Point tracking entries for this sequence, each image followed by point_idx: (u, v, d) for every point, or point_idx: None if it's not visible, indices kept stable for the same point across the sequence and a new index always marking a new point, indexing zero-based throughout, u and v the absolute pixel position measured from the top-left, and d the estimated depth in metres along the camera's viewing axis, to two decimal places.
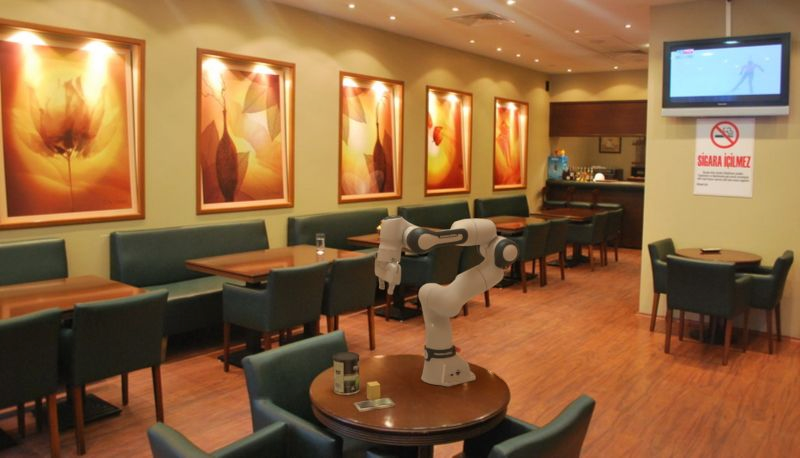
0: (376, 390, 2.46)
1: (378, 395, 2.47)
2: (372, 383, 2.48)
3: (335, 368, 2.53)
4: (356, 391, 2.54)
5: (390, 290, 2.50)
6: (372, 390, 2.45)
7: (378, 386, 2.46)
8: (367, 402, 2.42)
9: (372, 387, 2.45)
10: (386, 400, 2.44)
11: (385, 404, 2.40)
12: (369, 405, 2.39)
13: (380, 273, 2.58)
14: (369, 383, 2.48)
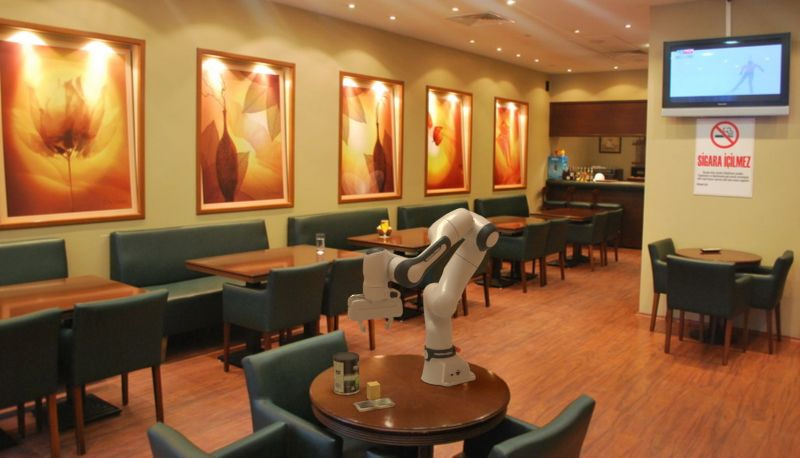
0: (376, 390, 2.46)
1: (378, 395, 2.47)
2: (372, 383, 2.48)
3: (335, 368, 2.53)
4: (356, 391, 2.54)
5: (360, 327, 2.35)
6: (372, 390, 2.45)
7: (378, 386, 2.46)
8: (367, 402, 2.42)
9: (372, 387, 2.45)
10: (386, 400, 2.44)
11: (385, 404, 2.40)
12: (369, 405, 2.39)
13: None
14: (369, 383, 2.48)
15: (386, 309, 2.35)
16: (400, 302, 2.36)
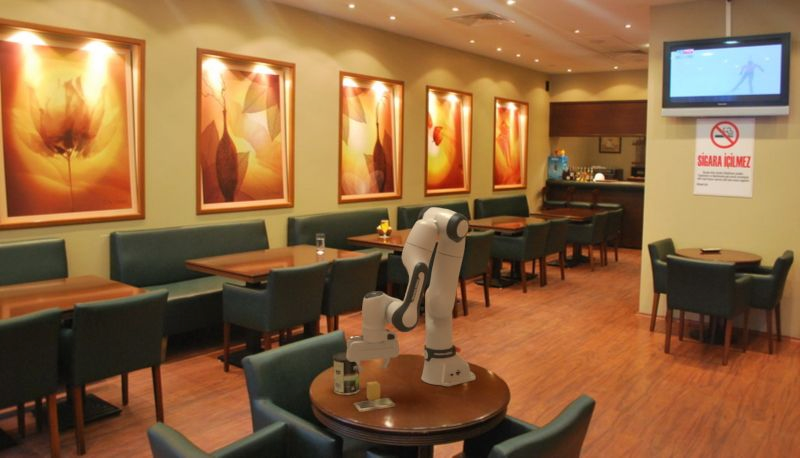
0: (376, 390, 2.46)
1: (378, 395, 2.47)
2: (372, 383, 2.48)
3: (335, 368, 2.53)
4: (356, 391, 2.54)
5: (358, 367, 2.45)
6: (372, 390, 2.45)
7: (378, 386, 2.46)
8: (367, 402, 2.42)
9: (372, 387, 2.45)
10: (386, 400, 2.44)
11: (385, 404, 2.40)
12: (369, 405, 2.39)
13: None
14: (369, 383, 2.48)
15: (383, 351, 2.45)
16: (397, 344, 2.46)
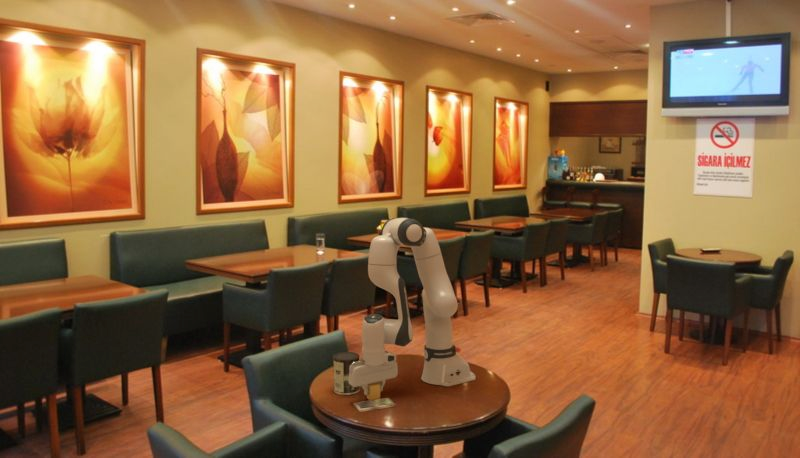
0: (376, 390, 2.46)
1: (378, 395, 2.47)
2: (372, 383, 2.48)
3: (335, 368, 2.53)
4: (356, 391, 2.54)
5: (364, 390, 2.46)
6: (372, 390, 2.45)
7: (378, 386, 2.46)
8: (367, 402, 2.42)
9: (372, 387, 2.45)
10: (386, 400, 2.44)
11: (385, 404, 2.40)
12: (369, 405, 2.39)
13: None
14: None
15: (383, 372, 2.48)
16: (396, 364, 2.50)
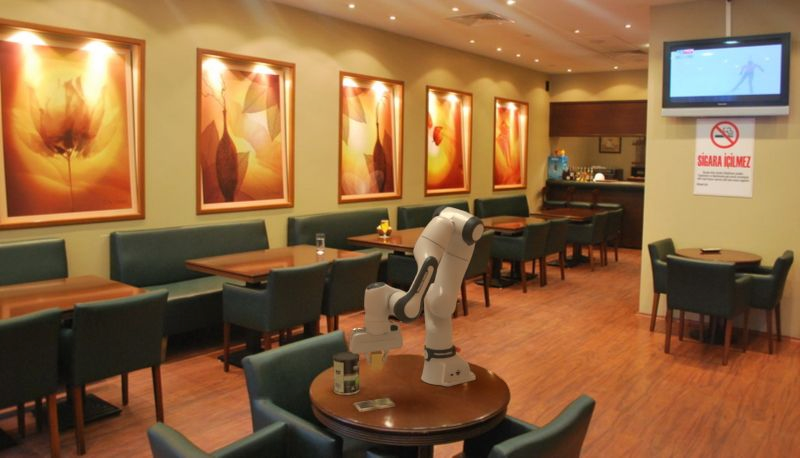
0: (378, 359, 2.43)
1: (380, 364, 2.43)
2: (375, 352, 2.44)
3: (335, 368, 2.53)
4: (356, 391, 2.54)
5: (366, 358, 2.43)
6: (373, 358, 2.42)
7: (380, 355, 2.42)
8: (367, 402, 2.42)
9: (374, 355, 2.42)
10: (386, 400, 2.44)
11: (385, 404, 2.40)
12: (369, 405, 2.39)
13: None
14: (372, 352, 2.45)
15: (386, 342, 2.43)
16: (400, 335, 2.44)
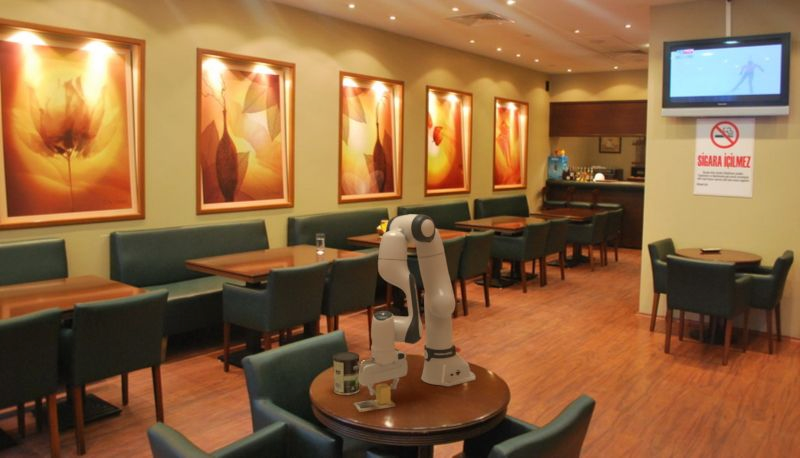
0: (387, 393, 2.41)
1: (388, 397, 2.41)
2: (382, 385, 2.42)
3: (335, 368, 2.53)
4: (356, 391, 2.54)
5: (370, 390, 2.39)
6: (382, 392, 2.40)
7: (388, 388, 2.41)
8: (367, 402, 2.42)
9: (383, 389, 2.40)
10: None
11: (385, 404, 2.40)
12: (369, 405, 2.39)
13: None
14: (379, 385, 2.42)
15: (393, 371, 2.42)
16: (406, 362, 2.44)
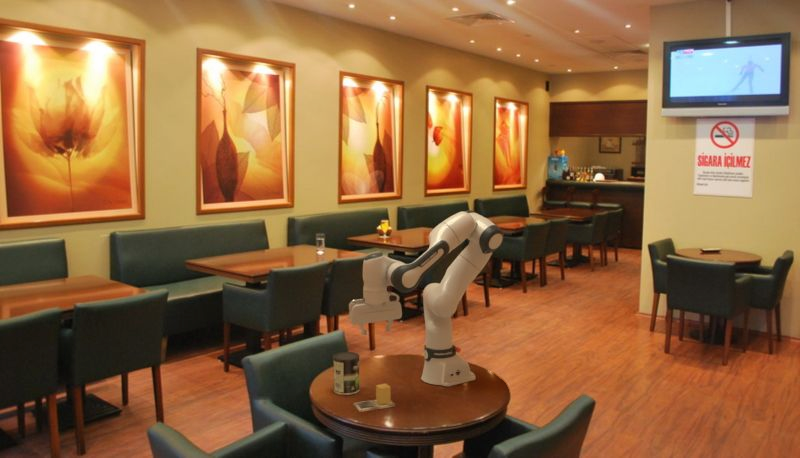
0: (387, 393, 2.41)
1: (388, 397, 2.41)
2: (382, 385, 2.42)
3: (335, 368, 2.53)
4: (356, 391, 2.54)
5: None
6: (382, 392, 2.40)
7: (388, 388, 2.41)
8: (367, 402, 2.42)
9: (383, 389, 2.40)
10: None
11: (385, 404, 2.40)
12: (369, 405, 2.39)
13: None
14: (379, 385, 2.42)
15: (386, 313, 2.44)
16: (399, 305, 2.45)
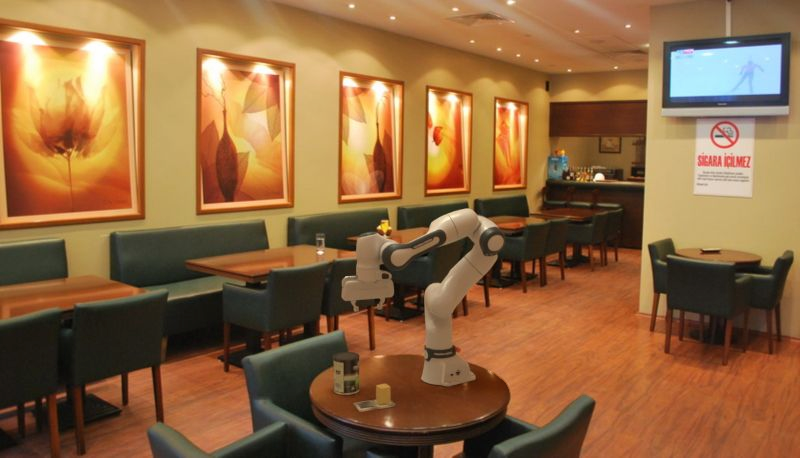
0: (387, 393, 2.41)
1: (388, 397, 2.41)
2: (382, 385, 2.42)
3: (335, 368, 2.53)
4: (356, 391, 2.54)
5: (354, 307, 2.48)
6: (382, 392, 2.40)
7: (388, 388, 2.41)
8: (367, 402, 2.42)
9: (383, 389, 2.40)
10: None
11: (385, 404, 2.40)
12: (369, 405, 2.39)
13: None
14: (379, 385, 2.42)
15: (378, 290, 2.48)
16: (391, 283, 2.49)
